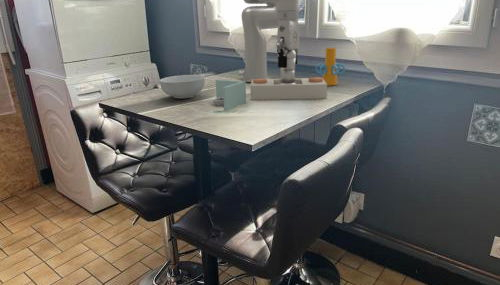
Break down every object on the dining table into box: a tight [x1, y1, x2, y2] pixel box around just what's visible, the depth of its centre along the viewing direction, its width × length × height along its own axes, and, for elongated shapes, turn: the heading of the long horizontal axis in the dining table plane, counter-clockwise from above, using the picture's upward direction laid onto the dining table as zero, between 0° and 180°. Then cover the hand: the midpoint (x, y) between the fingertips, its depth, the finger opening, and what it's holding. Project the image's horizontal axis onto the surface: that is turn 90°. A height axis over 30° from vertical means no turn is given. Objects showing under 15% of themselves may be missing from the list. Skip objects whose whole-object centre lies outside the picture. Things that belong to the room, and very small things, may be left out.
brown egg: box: [309, 76, 323, 82], centre depth 143 cm, size 5×5×6 cm
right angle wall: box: [211, 79, 247, 111], centre depth 132 cm, size 12×12×8 cm
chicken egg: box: [253, 79, 267, 84], centre depth 144 cm, size 5×5×6 cm
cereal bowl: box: [159, 74, 206, 99], centre depth 148 cm, size 17×17×7 cm
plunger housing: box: [249, 77, 328, 101], centre depth 144 cm, size 27×14×5 cm, turn 87°
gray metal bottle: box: [279, 49, 296, 84], centre depth 142 cm, size 6×7×20 cm
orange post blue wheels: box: [314, 47, 346, 87], centre depth 160 cm, size 12×10×15 cm
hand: (287, 65), depth 141 cm, fingers open, 9 cm apart
